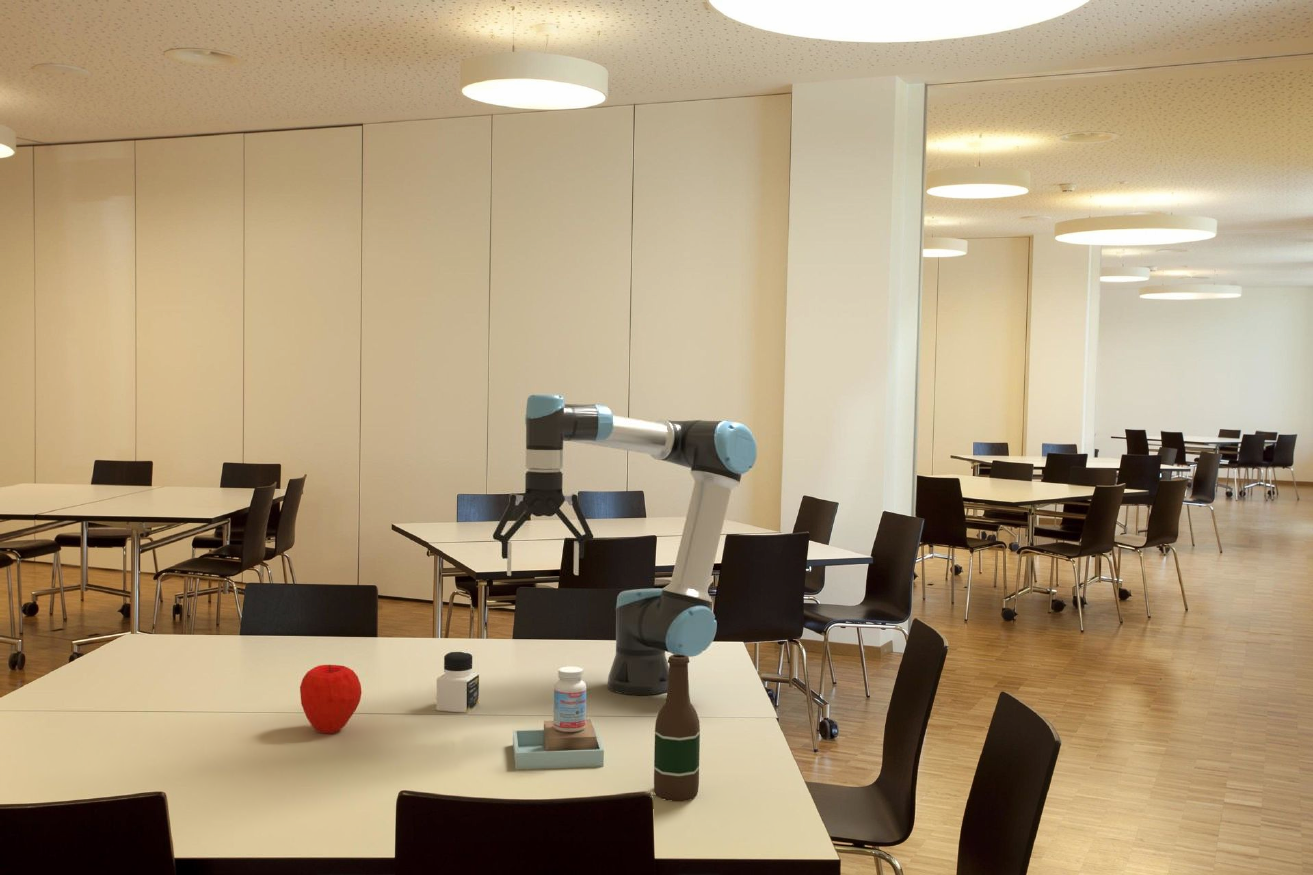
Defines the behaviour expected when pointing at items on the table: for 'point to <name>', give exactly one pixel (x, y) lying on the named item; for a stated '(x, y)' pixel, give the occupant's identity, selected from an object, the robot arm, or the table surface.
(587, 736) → the walnut block
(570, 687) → the pill bottle
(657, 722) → the beer bottle
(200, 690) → the table surface
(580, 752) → the light blue tray
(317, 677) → the apple
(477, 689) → the medicine bottle
